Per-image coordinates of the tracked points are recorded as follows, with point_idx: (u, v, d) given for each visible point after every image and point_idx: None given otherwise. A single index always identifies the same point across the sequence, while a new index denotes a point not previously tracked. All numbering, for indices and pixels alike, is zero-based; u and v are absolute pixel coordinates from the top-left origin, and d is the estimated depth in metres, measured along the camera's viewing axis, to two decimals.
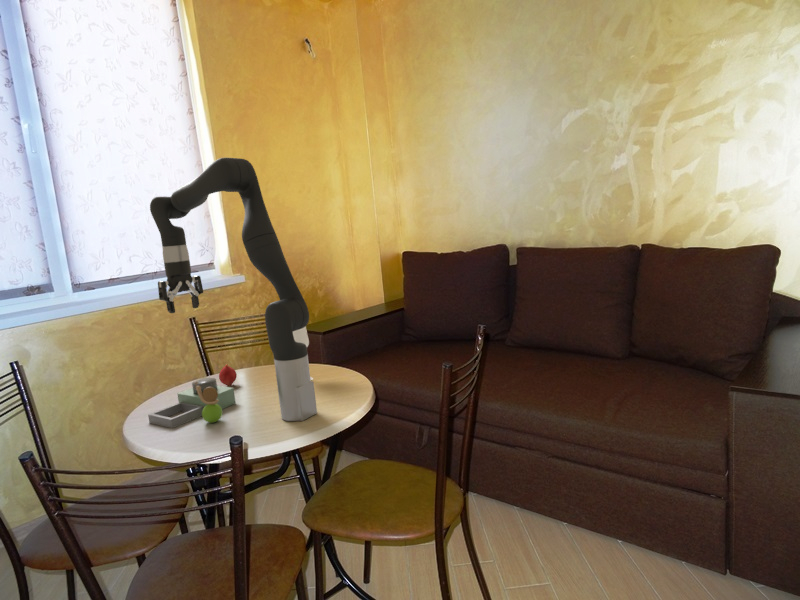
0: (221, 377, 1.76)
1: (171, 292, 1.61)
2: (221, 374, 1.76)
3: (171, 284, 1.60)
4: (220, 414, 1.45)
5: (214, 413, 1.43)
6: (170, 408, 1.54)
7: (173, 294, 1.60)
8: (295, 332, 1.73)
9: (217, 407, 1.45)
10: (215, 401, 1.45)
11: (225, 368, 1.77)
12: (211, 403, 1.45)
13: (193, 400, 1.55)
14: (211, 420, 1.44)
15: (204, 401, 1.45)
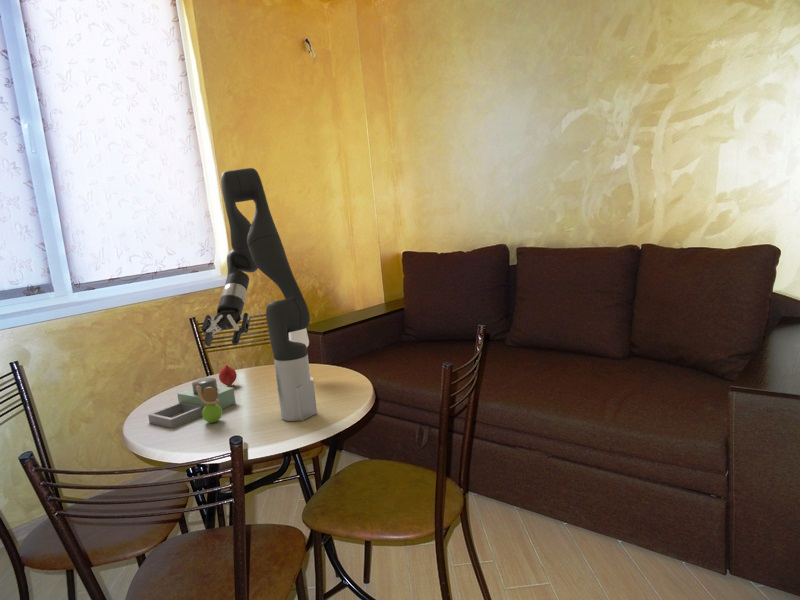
0: (221, 377, 1.76)
1: None
2: (221, 374, 1.76)
3: (215, 318, 1.60)
4: (220, 414, 1.45)
5: (214, 413, 1.43)
6: (170, 408, 1.54)
7: (211, 326, 1.58)
8: (295, 332, 1.73)
9: (217, 407, 1.45)
10: (215, 401, 1.45)
11: (225, 368, 1.77)
12: (211, 403, 1.45)
13: (193, 400, 1.55)
14: (211, 420, 1.44)
15: (204, 401, 1.45)
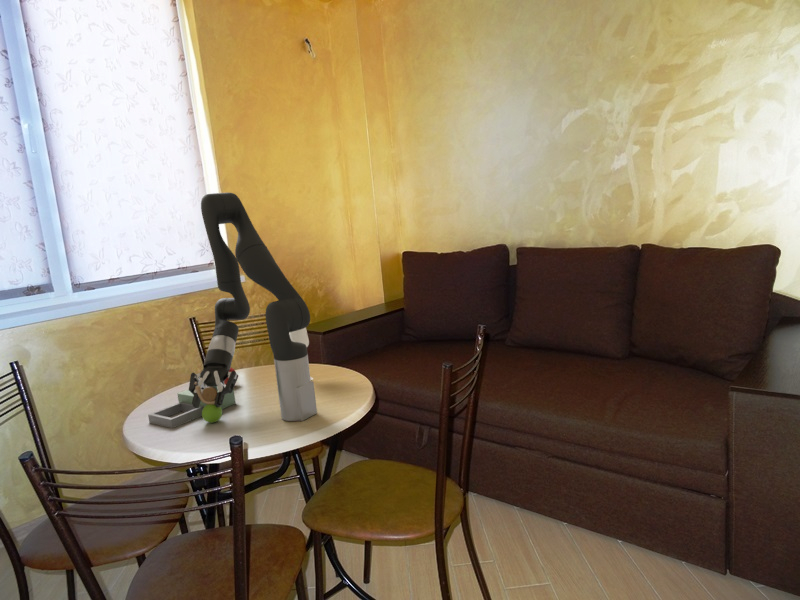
0: None
1: None
2: None
3: (200, 376, 1.49)
4: (220, 414, 1.45)
5: (214, 413, 1.43)
6: (170, 408, 1.54)
7: (199, 385, 1.46)
8: (295, 332, 1.73)
9: None
10: None
11: None
12: (211, 403, 1.45)
13: None
14: (211, 420, 1.44)
15: (204, 401, 1.45)
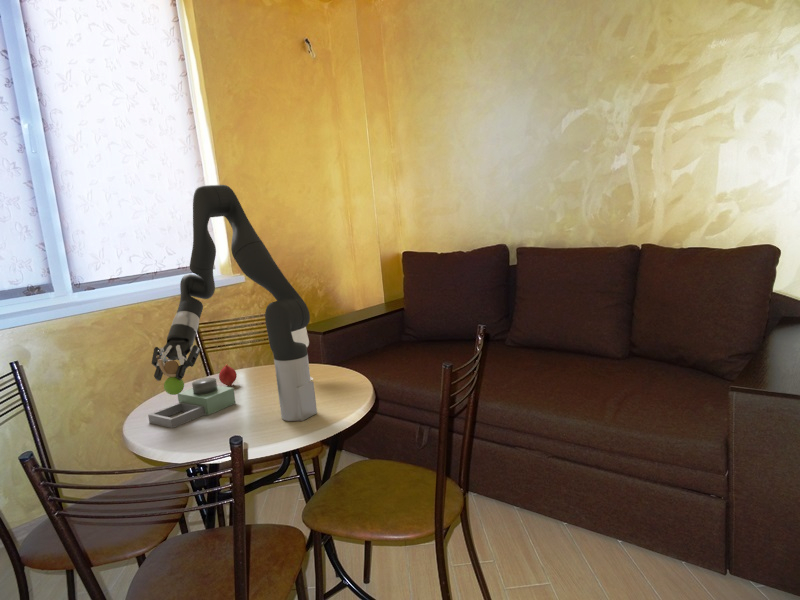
0: (221, 377, 1.76)
1: None
2: (221, 374, 1.76)
3: (163, 350, 1.53)
4: (181, 386, 1.50)
5: (175, 385, 1.48)
6: (170, 408, 1.54)
7: (161, 358, 1.51)
8: (295, 332, 1.73)
9: None
10: None
11: (225, 368, 1.77)
12: (172, 376, 1.49)
13: (193, 400, 1.55)
14: (172, 392, 1.48)
15: (166, 374, 1.49)
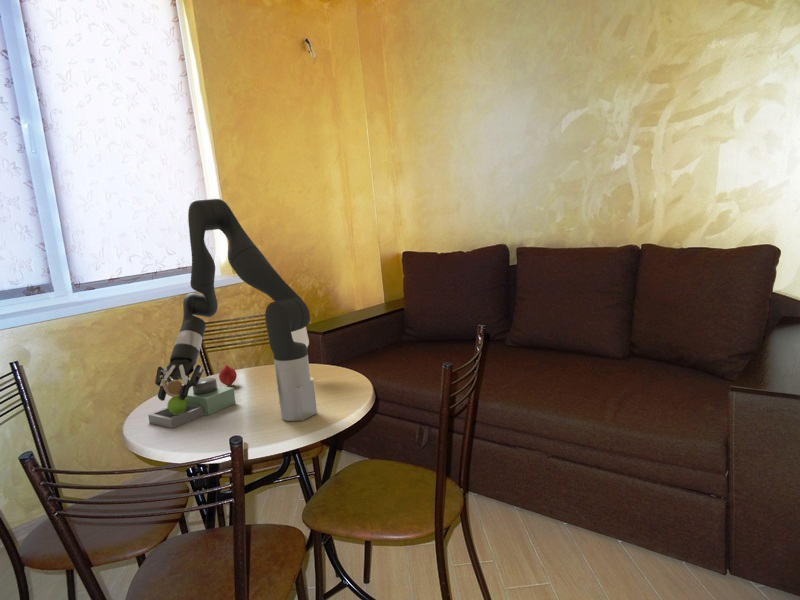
0: (221, 377, 1.76)
1: None
2: (221, 374, 1.76)
3: (167, 370, 1.54)
4: (185, 406, 1.50)
5: (178, 405, 1.49)
6: None
7: (165, 378, 1.52)
8: (295, 332, 1.73)
9: None
10: None
11: (225, 368, 1.77)
12: (176, 396, 1.50)
13: (193, 400, 1.55)
14: (176, 412, 1.49)
15: (169, 394, 1.50)
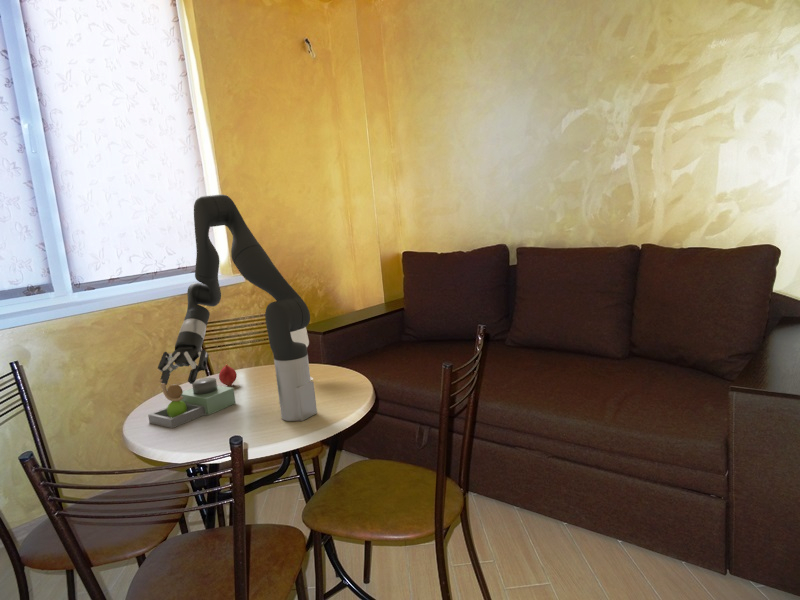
0: (221, 377, 1.76)
1: None
2: (221, 374, 1.76)
3: (172, 355, 1.57)
4: (185, 410, 1.51)
5: (178, 409, 1.49)
6: None
7: (168, 364, 1.55)
8: (295, 332, 1.73)
9: (181, 403, 1.51)
10: (180, 398, 1.50)
11: (225, 368, 1.77)
12: (176, 400, 1.50)
13: (193, 400, 1.55)
14: None
15: (169, 398, 1.50)
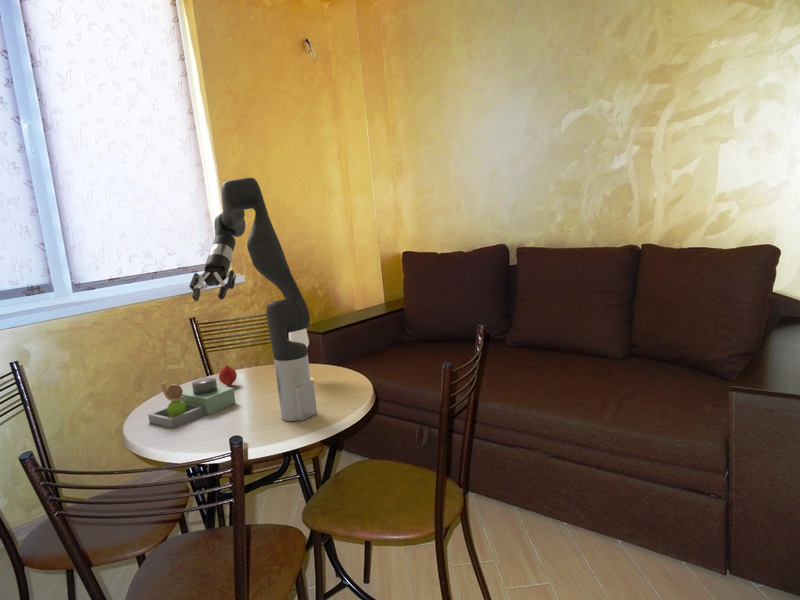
0: (221, 377, 1.76)
1: None
2: (221, 374, 1.76)
3: (202, 276, 1.69)
4: (185, 410, 1.51)
5: (178, 409, 1.49)
6: None
7: (199, 282, 1.67)
8: (295, 332, 1.73)
9: (181, 403, 1.51)
10: (180, 398, 1.50)
11: (225, 368, 1.77)
12: (176, 400, 1.50)
13: (193, 400, 1.55)
14: None
15: (169, 398, 1.50)
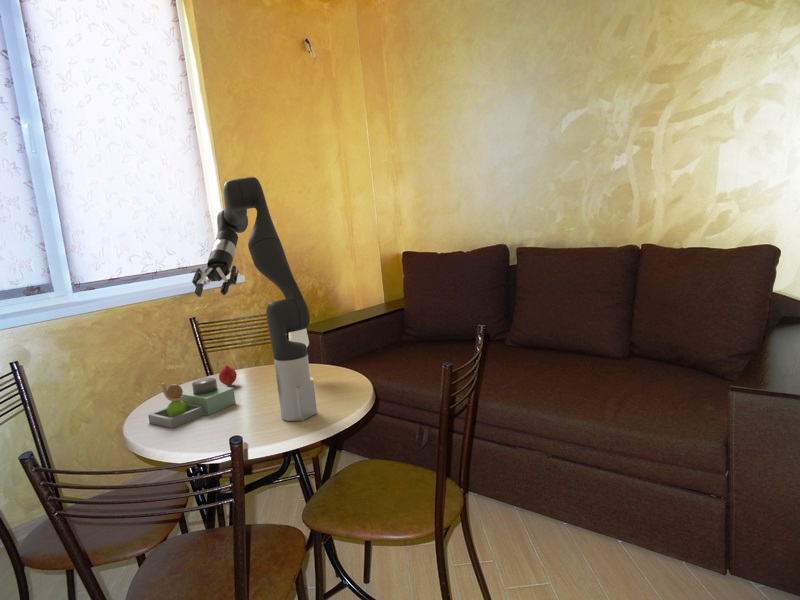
0: (221, 377, 1.76)
1: None
2: (221, 374, 1.76)
3: (205, 271, 1.70)
4: (185, 410, 1.51)
5: (178, 409, 1.49)
6: None
7: (201, 278, 1.67)
8: (295, 332, 1.73)
9: (181, 403, 1.51)
10: (180, 398, 1.50)
11: (225, 368, 1.77)
12: (176, 400, 1.50)
13: (193, 400, 1.55)
14: None
15: (169, 398, 1.50)
